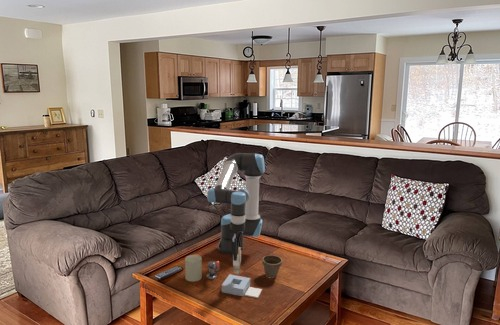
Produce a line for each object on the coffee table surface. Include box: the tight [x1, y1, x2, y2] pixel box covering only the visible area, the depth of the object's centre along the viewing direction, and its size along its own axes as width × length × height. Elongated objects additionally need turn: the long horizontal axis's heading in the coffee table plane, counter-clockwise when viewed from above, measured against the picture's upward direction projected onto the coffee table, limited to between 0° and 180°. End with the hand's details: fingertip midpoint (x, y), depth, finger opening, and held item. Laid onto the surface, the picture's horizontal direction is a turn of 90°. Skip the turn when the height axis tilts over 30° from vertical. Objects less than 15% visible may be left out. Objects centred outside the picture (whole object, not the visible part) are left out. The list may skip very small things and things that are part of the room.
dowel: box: [232, 246, 242, 275], centre depth 196 cm, size 4×4×14 cm
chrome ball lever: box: [207, 260, 220, 272], centre depth 206 cm, size 4×10×6 cm, turn 31°
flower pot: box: [261, 254, 283, 279], centre depth 213 cm, size 12×11×10 cm
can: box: [184, 254, 203, 282], centre depth 208 cm, size 9×9×12 cm
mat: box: [244, 286, 263, 299], centre depth 196 cm, size 8×7×1 cm
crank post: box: [205, 267, 218, 280], centre depth 210 cm, size 6×6×6 cm
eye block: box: [221, 273, 251, 297], centre depth 199 cm, size 12×12×4 cm
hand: (236, 263), depth 197 cm, fingers closed on dowel, 3 cm apart
